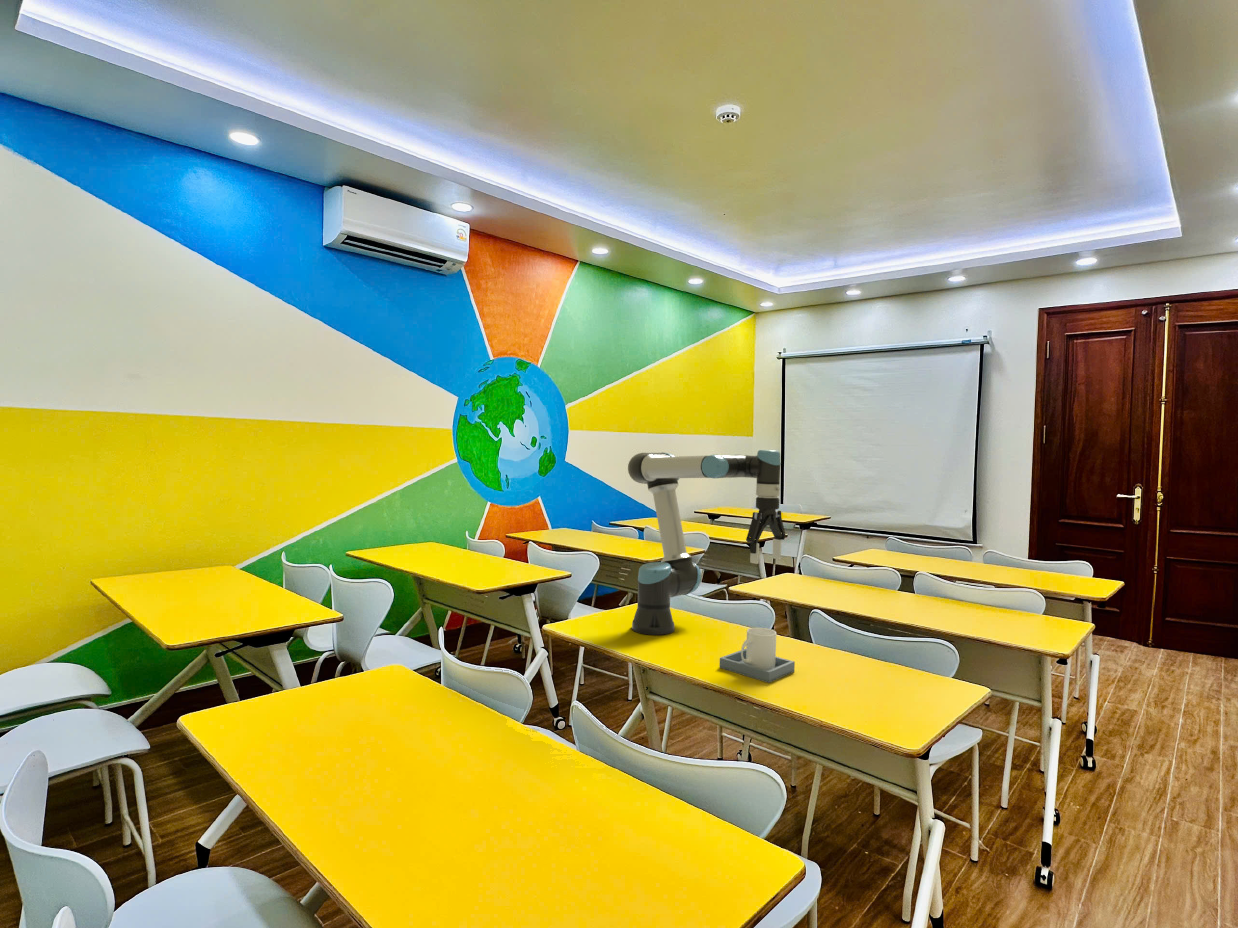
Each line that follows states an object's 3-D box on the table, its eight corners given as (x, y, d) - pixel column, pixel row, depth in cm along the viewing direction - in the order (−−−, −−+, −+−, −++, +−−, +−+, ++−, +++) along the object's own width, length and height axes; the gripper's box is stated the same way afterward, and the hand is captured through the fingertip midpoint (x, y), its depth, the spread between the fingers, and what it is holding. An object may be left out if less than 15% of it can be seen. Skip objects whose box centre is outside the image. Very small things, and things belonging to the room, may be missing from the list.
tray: (719, 667, 200) (719, 657, 200) (745, 657, 210) (746, 648, 210) (769, 682, 189) (769, 672, 188) (794, 671, 199) (794, 661, 199)
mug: (731, 666, 200) (732, 630, 200) (761, 660, 206) (762, 626, 206) (750, 675, 193) (751, 638, 192) (781, 669, 199) (782, 633, 198)
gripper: (756, 499, 209) (754, 566, 210) (797, 496, 227) (795, 558, 228) (736, 497, 214) (734, 563, 215) (777, 494, 232) (775, 555, 233)
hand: (765, 561), depth 221 cm, fingers open, 13 cm apart
